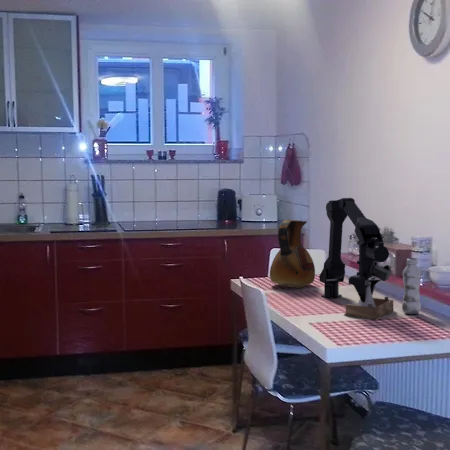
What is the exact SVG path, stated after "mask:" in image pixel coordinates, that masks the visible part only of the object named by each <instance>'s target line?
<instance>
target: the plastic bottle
mask: <svg viewBox="0 0 450 450" xmlns="http://www.w3.org/2000/svg"><path fill="white" fill-rule="evenodd" d="M421 272H422V271H421V270H420V268H419V266H418V258H415V257H408V258H406V266H405V267H404V269H403V270H402V280H403V296H402V297H403V298H402V303H401V307H402V308H401V309H402V311H403V313H404V314H407V315H408V314H409V315H417V314H419V313H420V312H421V307H422V306H421V301H420V282H421V277H422V273H421Z"/></svg>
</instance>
